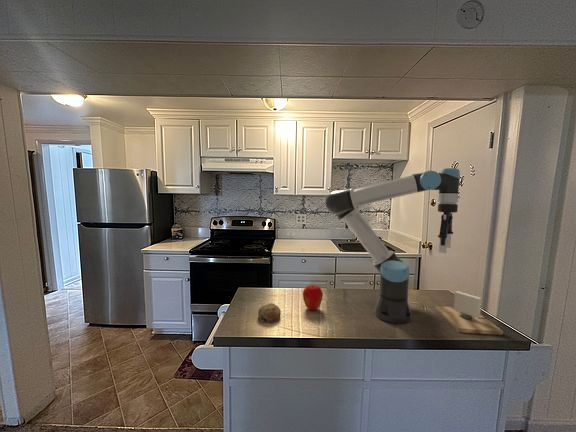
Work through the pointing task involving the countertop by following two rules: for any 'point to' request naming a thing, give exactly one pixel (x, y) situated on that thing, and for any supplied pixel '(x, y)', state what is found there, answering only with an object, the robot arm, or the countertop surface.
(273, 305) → the bread roll
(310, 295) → the apple
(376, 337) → the countertop surface
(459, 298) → the cream piece
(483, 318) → the light wood flat board
